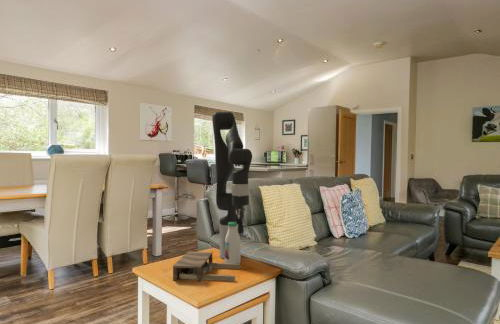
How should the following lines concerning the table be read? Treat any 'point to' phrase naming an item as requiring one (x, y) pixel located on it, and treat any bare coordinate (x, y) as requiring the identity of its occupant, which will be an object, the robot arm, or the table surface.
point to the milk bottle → (232, 245)
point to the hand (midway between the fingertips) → (240, 232)
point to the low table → (200, 267)
